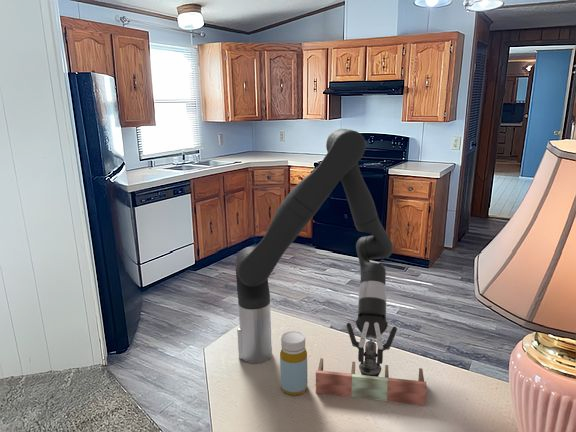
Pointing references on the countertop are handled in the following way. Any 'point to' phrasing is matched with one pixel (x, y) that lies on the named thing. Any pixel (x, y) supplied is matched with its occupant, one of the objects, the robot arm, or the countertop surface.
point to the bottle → (293, 363)
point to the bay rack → (371, 386)
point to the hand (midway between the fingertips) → (370, 364)
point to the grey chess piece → (370, 360)
